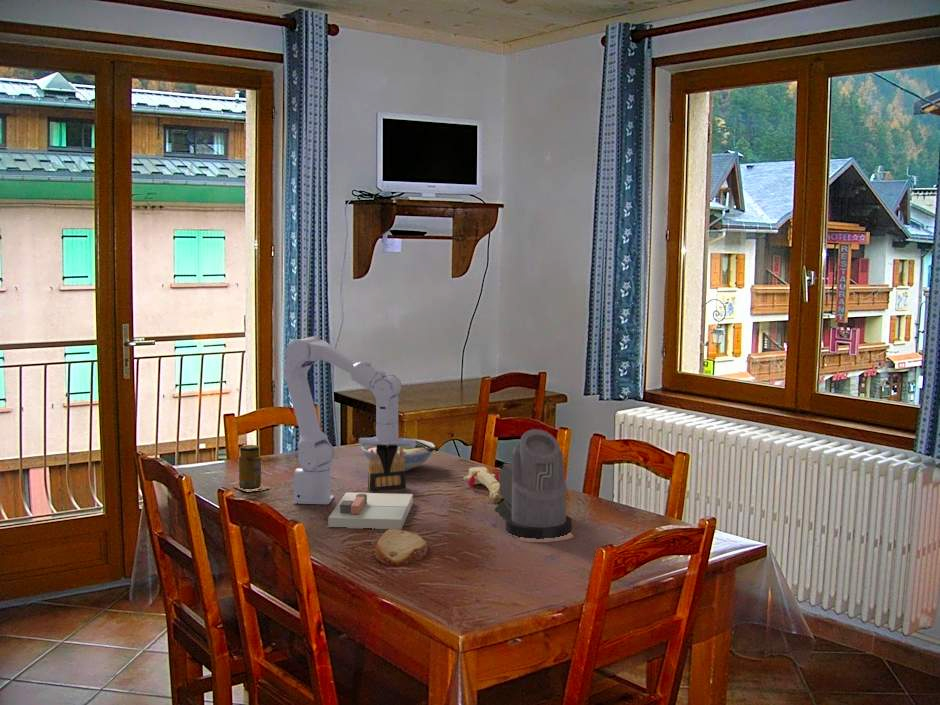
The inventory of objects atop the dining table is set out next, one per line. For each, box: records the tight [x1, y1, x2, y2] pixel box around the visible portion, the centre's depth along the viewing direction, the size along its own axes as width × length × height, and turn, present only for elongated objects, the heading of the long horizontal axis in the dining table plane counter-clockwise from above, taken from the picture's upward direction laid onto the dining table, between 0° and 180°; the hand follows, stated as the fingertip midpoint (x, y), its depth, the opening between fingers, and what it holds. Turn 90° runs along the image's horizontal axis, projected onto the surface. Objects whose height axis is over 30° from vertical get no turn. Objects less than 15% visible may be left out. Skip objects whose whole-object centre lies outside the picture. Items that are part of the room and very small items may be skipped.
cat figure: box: [463, 466, 505, 504], centre depth 281 cm, size 10×9×25 cm
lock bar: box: [351, 494, 367, 514], centre depth 254 cm, size 12×3×2 cm, turn 177°
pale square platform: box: [327, 492, 414, 530], centre depth 257 cm, size 18×24×5 cm
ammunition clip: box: [367, 447, 406, 492], centre depth 283 cm, size 11×2×12 cm, turn 114°
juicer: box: [494, 428, 573, 539], centre depth 249 cm, size 30×16×24 cm, turn 14°
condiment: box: [238, 444, 262, 489], centre depth 282 cm, size 7×8×12 cm
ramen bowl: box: [360, 435, 439, 472], centre depth 307 cm, size 25×23×8 cm
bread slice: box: [374, 529, 428, 567], centre depth 229 cm, size 18×18×4 cm
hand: (387, 473), depth 262 cm, fingers closed
